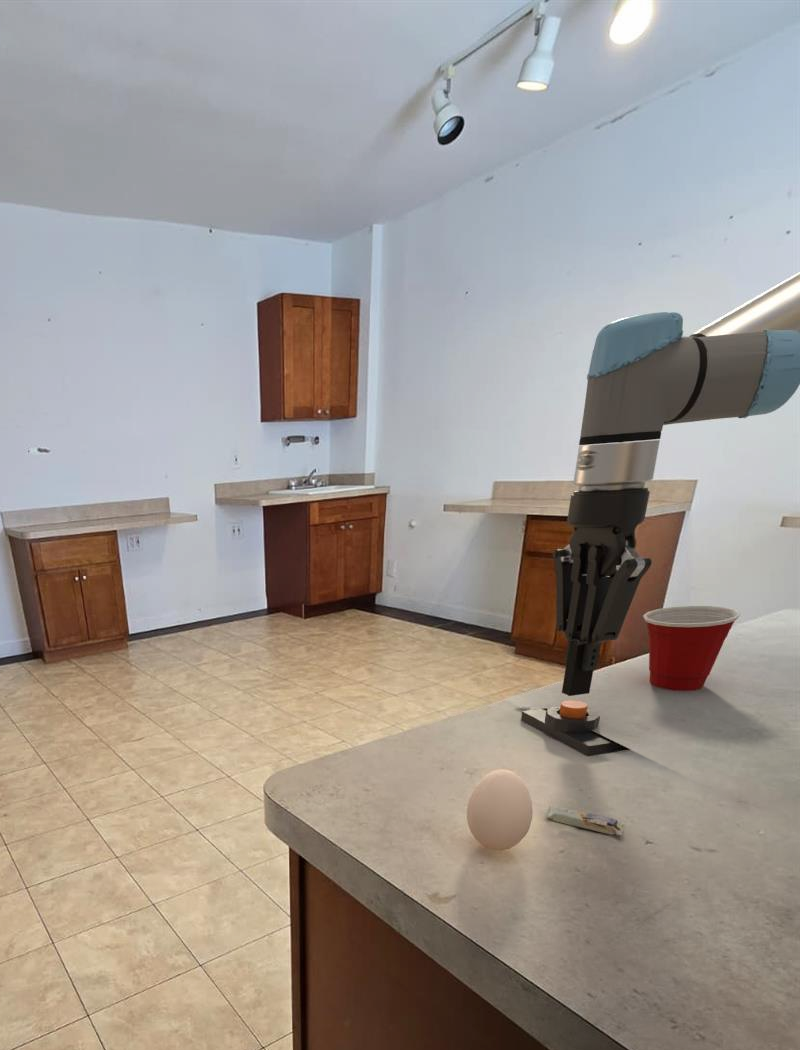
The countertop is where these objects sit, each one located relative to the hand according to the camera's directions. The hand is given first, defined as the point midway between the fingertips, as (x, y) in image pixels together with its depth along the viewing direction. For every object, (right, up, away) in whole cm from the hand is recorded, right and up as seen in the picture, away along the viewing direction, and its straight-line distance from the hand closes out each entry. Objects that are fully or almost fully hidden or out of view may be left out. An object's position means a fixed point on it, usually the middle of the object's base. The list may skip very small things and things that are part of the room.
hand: (575, 692), depth 79 cm
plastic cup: (+21, +1, +13) cm, 25 cm away
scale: (+7, -4, +3) cm, 9 cm away
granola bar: (-9, -15, -17) cm, 25 cm away
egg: (-19, -17, -20) cm, 32 cm away
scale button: (0, -3, +1) cm, 3 cm away
